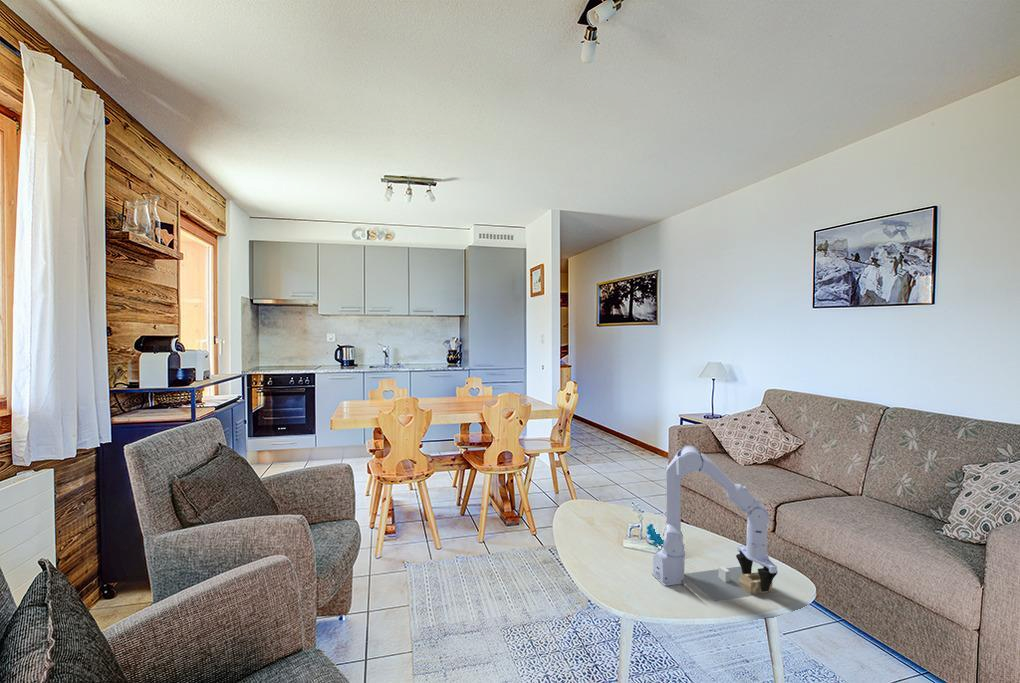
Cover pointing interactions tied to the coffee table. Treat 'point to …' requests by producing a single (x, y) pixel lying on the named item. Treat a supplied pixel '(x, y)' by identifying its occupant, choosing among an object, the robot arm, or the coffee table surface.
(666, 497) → the robot arm
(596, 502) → the coffee table surface
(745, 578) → the open rectangular tan frame
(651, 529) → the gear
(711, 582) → the board
